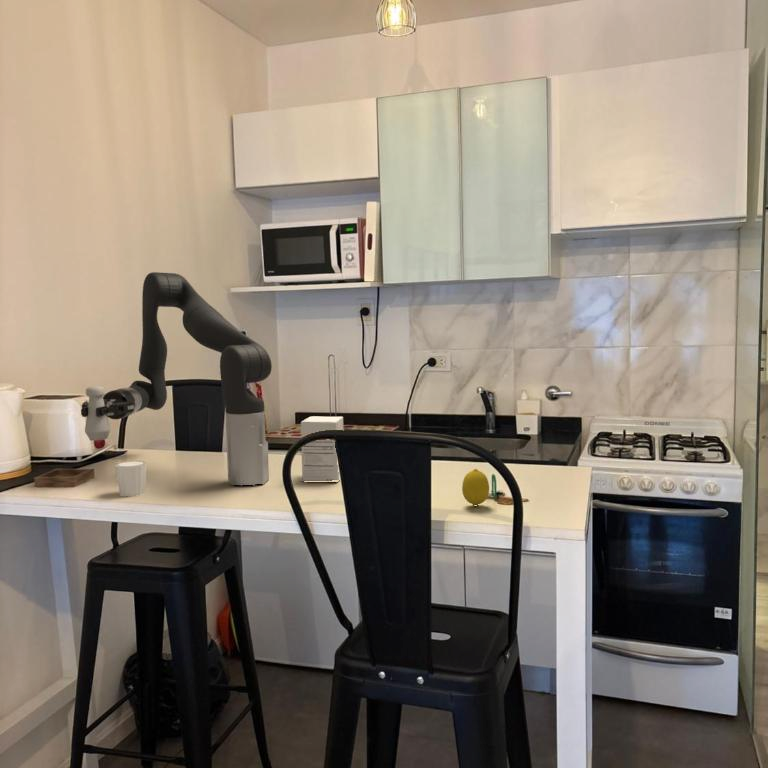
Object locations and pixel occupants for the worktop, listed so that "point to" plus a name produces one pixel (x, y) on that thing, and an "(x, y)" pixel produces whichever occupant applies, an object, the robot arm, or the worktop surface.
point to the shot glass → (131, 477)
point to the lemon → (475, 487)
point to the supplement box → (320, 450)
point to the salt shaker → (96, 425)
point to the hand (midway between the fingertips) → (90, 412)
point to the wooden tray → (63, 477)
